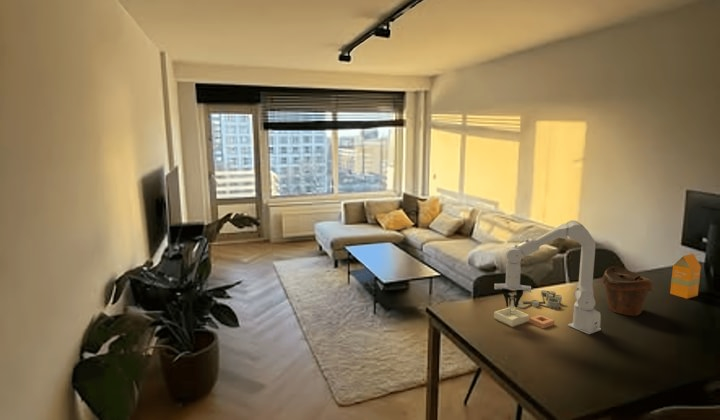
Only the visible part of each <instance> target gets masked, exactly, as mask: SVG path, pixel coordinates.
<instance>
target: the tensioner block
mask: <svg viewBox="0 0 720 420" xmlns="http://www.w3.org/2000/svg"><path fill="white" fill-rule="evenodd" d="M528 323H529V324H532V325H534V326H536V327H538V328H541V329H546V328H549V327H551V326H554V325H555V323H556V321H555V319H554V318H553V319H552V318H550V317H548V316H545V315H543V314H537V315H533V316H531V317H530V316H529V322H528Z"/></svg>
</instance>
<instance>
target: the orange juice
mask: <svg viewBox="0 0 720 420" xmlns="http://www.w3.org/2000/svg"><path fill="white" fill-rule="evenodd" d="M701 271H702V266H701V263H700V262H699V261H698V259H697V257H696V255H695V254H694V253H690V254H685V255H683V256H682V257H681V258H680V259H678V261H676V262H675V263H674V264H673V265H672V272H671V273H672V274H671V280H670V291H669V294H671V295H674V296H676V297H681V298H684V299H686V300H687V299H690V298H695V297H697V296H698V295H699V285H700V277H701Z"/></svg>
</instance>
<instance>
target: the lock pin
mask: <svg viewBox="0 0 720 420" xmlns="http://www.w3.org/2000/svg"><path fill="white" fill-rule="evenodd" d="M515 301H516V293H508V308H510V314H515V313H516V310H517V309H516V307H515ZM515 309H516V310H515Z"/></svg>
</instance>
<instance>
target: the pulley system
mask: <svg viewBox="0 0 720 420" xmlns="http://www.w3.org/2000/svg"><path fill="white" fill-rule="evenodd" d="M540 295H541V297H542V301H539V300H538V299H532V301H528V300H527V301H526V300H524V301H523V300H522V301H521V300H519V303H518V306H517V308H518V309H521V310H523V309H526V308H529V307H531V306H532V307H535V308H539V306H541V307H544V308H549V309H555V310H558V309H559V308H560V306H561V303H562V302H563V301H562V300H563V296H562V295H560V294H556V292H555V291H553V290H544V289H543V290H541V291H540ZM544 296H545V299H544ZM545 300H546V304H545ZM525 304H527V306H526V305H525ZM544 304H545V305H544Z"/></svg>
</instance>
